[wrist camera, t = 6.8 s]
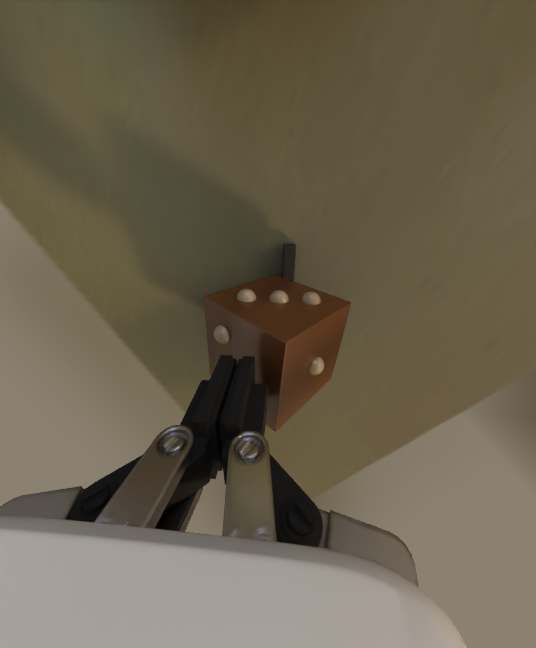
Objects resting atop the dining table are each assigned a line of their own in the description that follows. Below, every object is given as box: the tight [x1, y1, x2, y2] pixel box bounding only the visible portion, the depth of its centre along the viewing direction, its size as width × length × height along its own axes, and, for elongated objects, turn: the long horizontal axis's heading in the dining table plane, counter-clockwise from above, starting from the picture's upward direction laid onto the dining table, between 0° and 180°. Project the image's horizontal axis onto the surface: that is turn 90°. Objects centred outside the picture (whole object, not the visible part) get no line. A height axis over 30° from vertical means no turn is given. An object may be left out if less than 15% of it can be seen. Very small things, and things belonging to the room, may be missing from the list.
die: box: [204, 275, 351, 432], centre depth 14 cm, size 6×6×6 cm
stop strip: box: [283, 244, 296, 282], centre depth 18 cm, size 10×1×1 cm, turn 0°
